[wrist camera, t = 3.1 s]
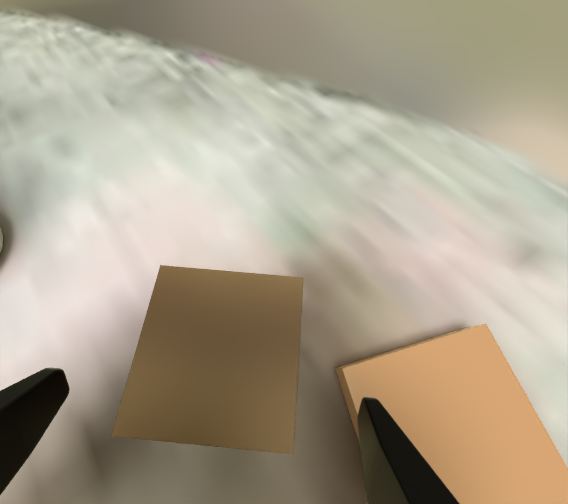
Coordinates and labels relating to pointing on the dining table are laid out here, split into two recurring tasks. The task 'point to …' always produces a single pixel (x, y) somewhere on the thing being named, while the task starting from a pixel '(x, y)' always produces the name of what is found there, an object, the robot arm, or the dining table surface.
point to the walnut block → (216, 361)
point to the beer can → (1, 240)
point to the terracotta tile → (464, 417)
